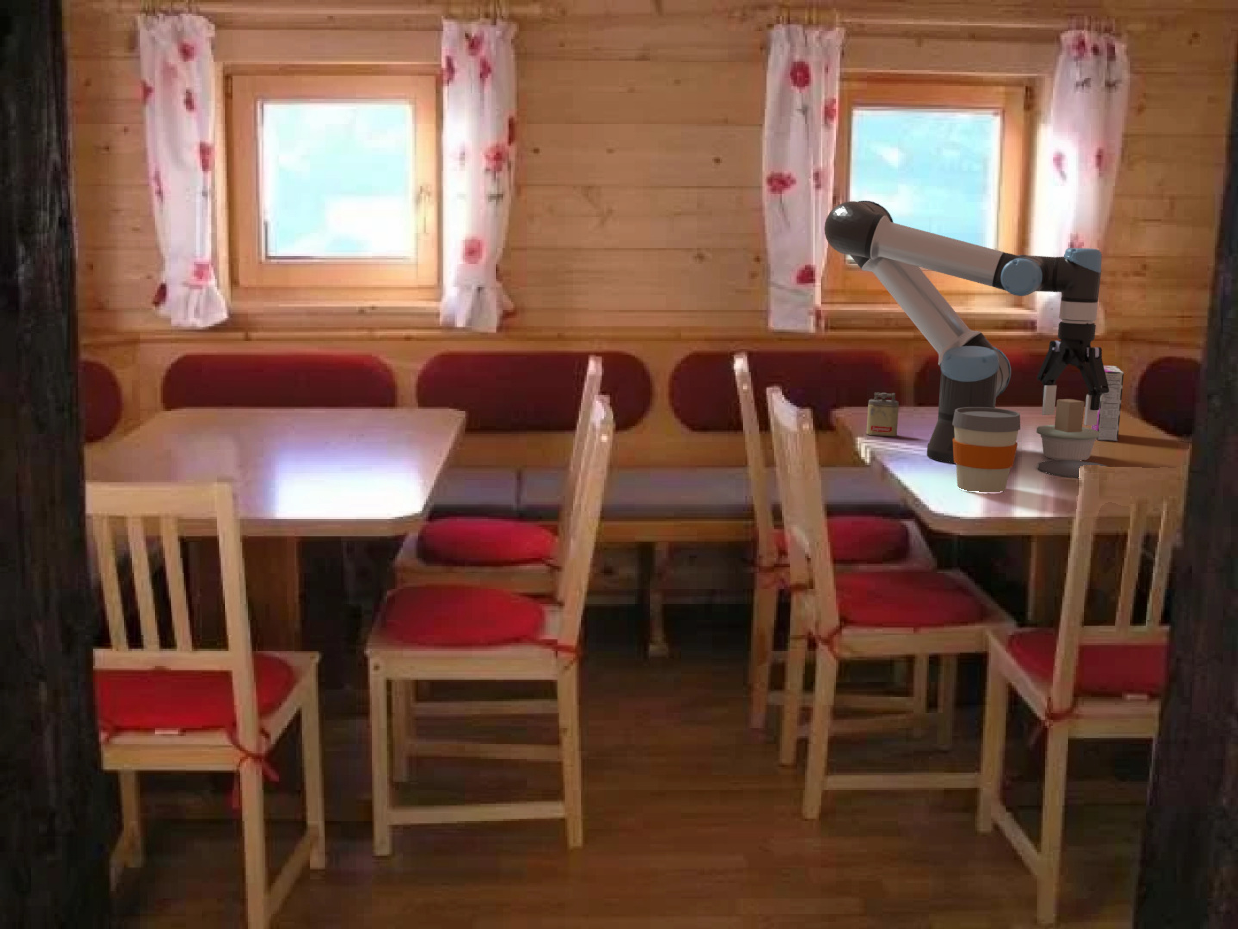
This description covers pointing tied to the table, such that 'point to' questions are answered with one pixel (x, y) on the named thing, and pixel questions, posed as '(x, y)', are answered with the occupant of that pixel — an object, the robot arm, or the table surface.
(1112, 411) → the candy bar box
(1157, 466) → the table surface
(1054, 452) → the ramekin
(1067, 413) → the lid
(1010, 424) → the reusable coffee cup
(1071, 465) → the trivet
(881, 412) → the lighter
